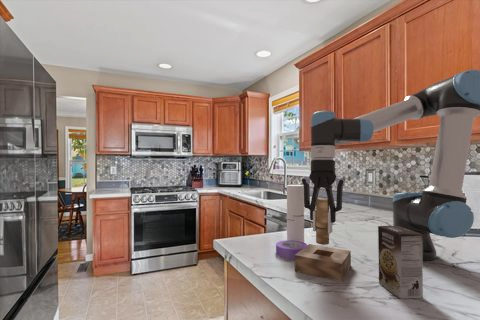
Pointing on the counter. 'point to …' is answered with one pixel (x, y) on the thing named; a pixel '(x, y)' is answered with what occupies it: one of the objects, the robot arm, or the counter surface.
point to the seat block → (323, 262)
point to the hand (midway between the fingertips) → (322, 231)
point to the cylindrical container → (295, 212)
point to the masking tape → (289, 248)
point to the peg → (322, 221)
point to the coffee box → (401, 261)
